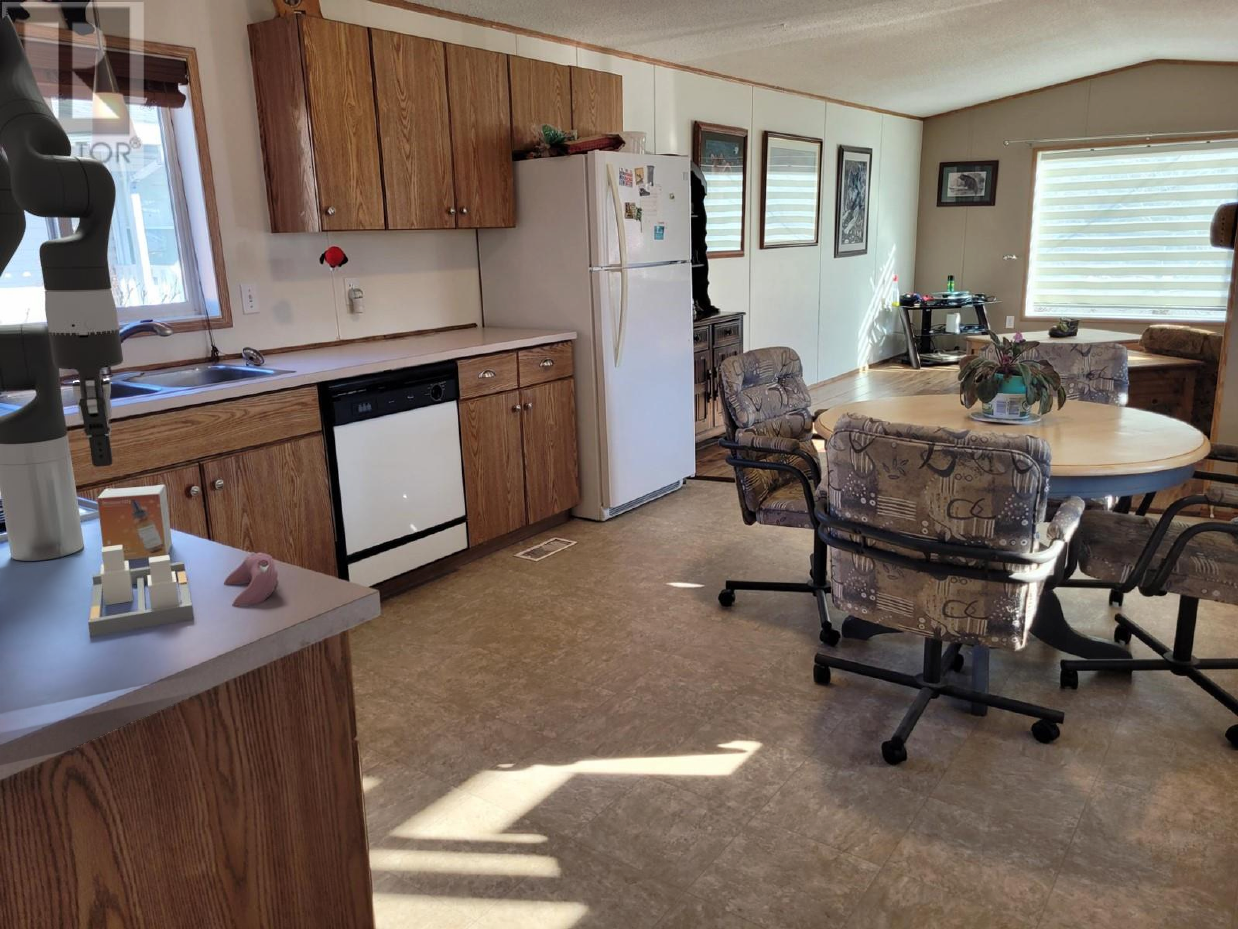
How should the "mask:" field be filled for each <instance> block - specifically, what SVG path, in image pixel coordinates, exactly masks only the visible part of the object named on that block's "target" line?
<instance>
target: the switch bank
mask: <svg viewBox="0 0 1238 929" xmlns="http://www.w3.org/2000/svg"><path fill="white" fill-rule="evenodd" d="M170 564H171V572H173V571H175V575H176V579H177V582H178V589H179V595H180V602H181V603H179V604H178V605H172V606H165V607H159V608H153V609H151V608H148V609H147V608H146V594H145V593H146V591H145V583H148V577H147V575H151V573H150V566H143V567H136V568H130V576H131V583H132V585H137V610H136V611H130V612H122V613H118V614H113V615H106V616H102V615H103V602H104V595H103V588H102V581H101V573H96V574H92V582H93V584H92V594H91V604H90V605H91V606H90V613H89V614H90V615H89V616H90V617H89V619H88V620H87V624H88V632H89V636H90V637H97V636H103V635H108V634H109V635H110V634H114V633H115V634H116V633H121V632H126V631H131V630H132V631H133V630H139V629H144V628H149V627H150V628H151V627H154V626H162V625H167V624H172V623H179V622H184V621H189V620H194V619H195V617H194V610H193V603H192V602H193V601H192V599H191V595H190V588H189V583H188V578H187V573H186V566H185V561H178V562H170Z"/></svg>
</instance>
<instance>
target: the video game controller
mask: <svg viewBox="0 0 1238 929" xmlns="http://www.w3.org/2000/svg"><path fill="white" fill-rule="evenodd" d="M275 568H276V566H275V561H274V559H273V557H272V556H271V555H270V554H267V553H265V552H257V553H255V552H254V551H252V552H251V554H249V555H247V557H246V558H245V559H244V560H243V561H242V563H241V564H240V565H238V567H237V568H236V569H234V571H232V572H231V573H230V574H229V575H228V576H227V577H226V578H225V580H224V583H223V585H226V586H230V585H237V584H245V583H249V584H248V586H247V587H246V588H244V589H243V591H241V592H240V593H239V594H238V595H237V596H236V598H235V599H234V601H233V602H232V604H231V606H232V607H241V606H242V607H243V606H244V607H245V606H249V605H254V604H259V603H261V602H264V601H265V600H266V599H267V597H270V596H271V595H272V593H273V591H274V590H277V589H278V588H279V587H280V580H279V579H278V576H279V572H278V570H277V569H275Z"/></svg>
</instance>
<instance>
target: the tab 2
mask: <svg viewBox="0 0 1238 929" xmlns="http://www.w3.org/2000/svg"><path fill="white" fill-rule="evenodd" d="M170 563H171V558H170V554H167V555H164V556H157V557H149V558H148V564H149V566H150V573H151V575H147V577H148V582H147V587H148V589H147V590H148V595H149V603H150V609H153V608H159V607H165V606H172V605H178V604H180V599H179V598H180V597H179V591H178V584H177V582H178V581H177V578H176V575H175V571H173V572H171V564H170ZM149 566H148V567H149Z"/></svg>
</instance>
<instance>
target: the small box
mask: <svg viewBox="0 0 1238 929" xmlns="http://www.w3.org/2000/svg"><path fill="white" fill-rule="evenodd" d="M96 503H97V510H98V511H97V512H98V518H99V526H100V533H101V534H100V535H101V540H102V541H101V542H102V547H108V546H115V545H122V546H123V554H124V561H129V560H135V559H137V560H139V559H149V558H150V557H157V556H164V555H169V552H170V550H171V548H172V546H173V542H172V540H173V539H172V534H171V525H170V524H171V523H170V514H169V505H168V496H167V487H166V484H157V485H148V486H136V487H135V486H133V487H122V488H121V487H120V488H119V487H118V488H105V489H104V490H103V491H102V492H101V493H100V494H99V496H98V497H97V501H96Z"/></svg>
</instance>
